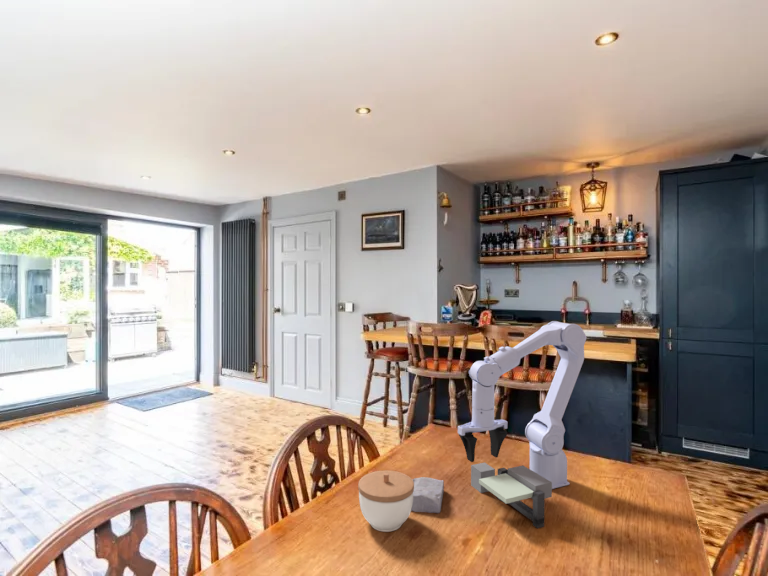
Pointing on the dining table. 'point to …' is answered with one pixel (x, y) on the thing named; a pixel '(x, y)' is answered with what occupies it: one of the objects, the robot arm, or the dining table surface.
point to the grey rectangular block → (480, 475)
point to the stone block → (427, 495)
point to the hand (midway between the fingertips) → (482, 458)
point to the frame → (532, 514)
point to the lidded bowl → (386, 499)
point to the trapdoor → (517, 484)
